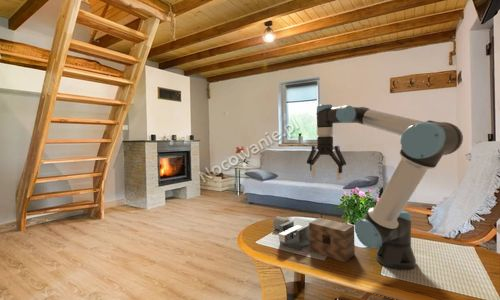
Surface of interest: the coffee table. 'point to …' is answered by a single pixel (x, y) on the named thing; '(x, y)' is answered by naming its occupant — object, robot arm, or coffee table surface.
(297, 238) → the v block
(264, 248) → the coffee table surface
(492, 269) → the coffee table surface
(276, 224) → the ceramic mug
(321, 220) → the brown wooden box
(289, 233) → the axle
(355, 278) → the coffee table surface
